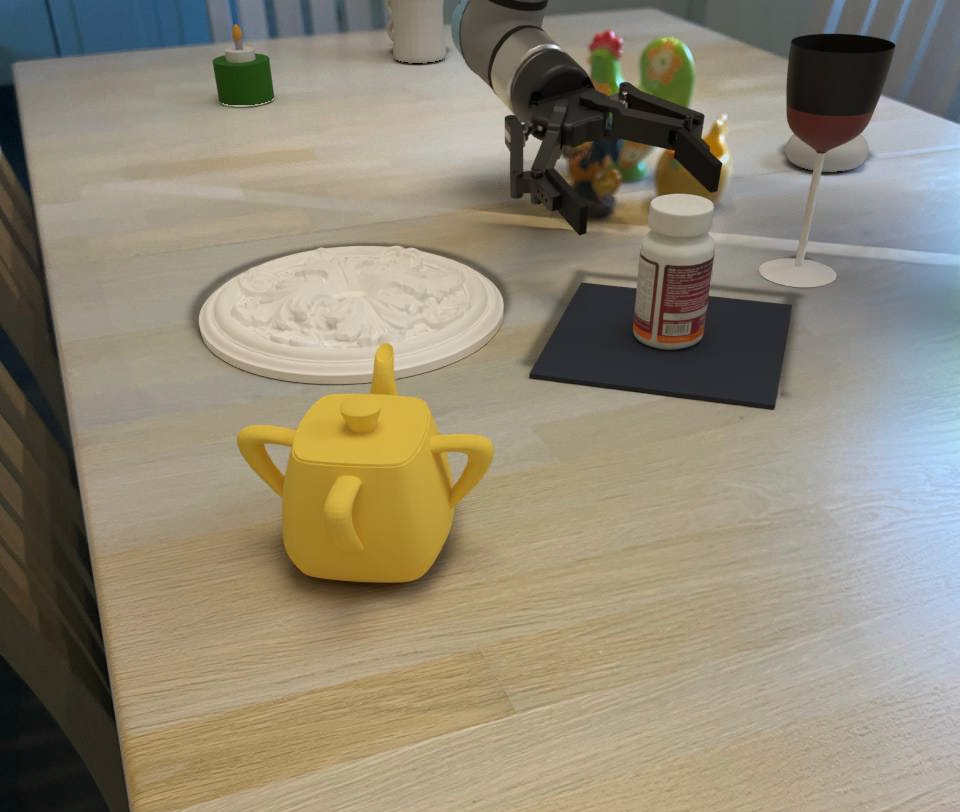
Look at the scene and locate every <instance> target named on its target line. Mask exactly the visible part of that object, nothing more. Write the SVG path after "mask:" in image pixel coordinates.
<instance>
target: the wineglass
mask: <svg viewBox="0 0 960 812" xmlns="http://www.w3.org/2000/svg"><path fill="white" fill-rule="evenodd" d="M895 50H896V44H895V42H892V41H891V40H888V39H886V38H885V39H884V38H881V37H877V36H872V35H871V36H870V35H864V34H863V35H862V34H853V33H852V34H851V33H815V34H813V33H812V34H804V35H800V36H797V37H794V38H792V39H791V41H790V45H789V53H788V60H787V72H786V88H785V89H786V90H785V94H786V95H785V96H786V102H785V103H786V106H785V107H786V108H785V109H786V121H787V124H788V127H789V129H790V131H791V132H792V133H793V134H795V135H796V136H797V137H798V138H799V139H800V140H801V141H803V142H804V143H806V144H807V145H809V146H810V147H811V148H813V149H814V150H815V151H816V152H817V154H816V159H815V165H814V170H813V171H812V175H811V181H810V184H809V185H810V186H809V189H808V190H809V191H808V196H807V200H806V206H805V211H804V216H803V222H802V226H801V231H800V235H799V241H798V246H797V247H798V248H797V252H796V257H795V258H788V257H786V258H784V257H783V258H776V259H771V260H769V261H765V262H763V263H762V264H761V265H760V266H759V267H758V272H759V275H760V276H761V277H763V278H764V279H765V280H768V281H770V282H772V283H775V284H778V285H781V286H786V287H794V288H816V287H822V286H823V287H824V286H826V285H830V284H831V283H833V282H834V281H836V278H837V273H836V272H835V271H836V270H834V269H833V268H831V267H830V266H828V265H827V264H824V263H822V262H818V261H814V260H810V259H805V256H806V250H807V246H808V241H809V236H810V231H811V227H812V222H813V221H812V220H813V216H814V211H815V206H816V201H817V198H818V197H817V196H818V192H819V185H820V181H821V176H822V173H823V172H822V167H823V162H824V157H825V153H826V152H827V151H829V150H831V149H834V148H836V147H838V146H840V145H843V144H845V143H847V142H849V141H851V140H852V139H854V138H856V137H857V136H858V135H862V133H864V131H865V129H867V127H868V125H869V124H870V122H871V120H872V117H873V115H874V113H875V110H876V108H877V105H878V103H879V101H880V98H881V95H882V94H883V90H884V87H885V85H886V81H887V78H888V75H889V72H890V69H891V65H892V61H893V58H894V54H895Z"/></svg>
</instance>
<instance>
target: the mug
mask: <svg viewBox="0 0 960 812" xmlns="http://www.w3.org/2000/svg"><path fill="white" fill-rule="evenodd" d="M385 8H386V11H387V13H388V16H389V17H390V20H389V21H388V23H387V24H386V32H387V35H388V37H389V39H390V40H391V41H392V55H393V58H394V59H395V60H396V61H397V60H398V61H397V62H400V61H401V62H400V63H403V62H408V63H407V64H412V63H423V64H428V63H427V62H433V63H436V62H435V61H438V62H440V61H439V60H441V61H443V60H444V59H445V58H446V56H447V44H446V38H445V36H446V35H445V27H444V0H385ZM442 59H443V60H442Z"/></svg>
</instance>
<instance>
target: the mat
mask: <svg viewBox="0 0 960 812" xmlns="http://www.w3.org/2000/svg"><path fill="white" fill-rule="evenodd" d="M636 291H637V287H629V286H620V285H619V286H618V285H611V284H602V283H601V284H599V283H592V282H583V281H581V282H580V283H579V286H578V287H577V288H576V291H575V292H574V294H573V296H572V298H571V299H570V301H569V303H568V304H567V307H566V309H565V310H564V312H563V313H562V314H561V317H560V319H559V321H558V322H557V324H556V326H555V328H554V329H553V331H552V333H551V335H550V336H549V338H548V340H547V341H546V344H545V345H544V346H543V348H542V351H541V352H540V354H539V356H538V358H537V360H536V361H535V363H534V365H533V366H532V368H531V369H530V372H529V373H528V378H529V379H535V380H536V379H537V380H545V381H553V382H559V383H560V382H561V383H567V384H568V383H569V384H575V385H583V386H591V387H597V388H599V387H600V388H606V389H614V390H622V391H628V392H629V391H630V392H636V393H637V392H638V393H644V394H652V395H660V396H661V395H662V396H666V397H667V396H668V397H677V398H684V399H691V400H698V401H699V400H700V401H707V402H714V403H721V404H729V405H738V406H746V407H754V408H761V409H768V410H775V408H776V402H777V398H778V397H777V396H778V391H779V385H780V378H781V373H782V367H783V360H784V356H785V355H784V354H785V349H786V343H787V337H788V331H789V327H790V320H791V314H792V307H793V304H789V303H781V302H770V301H769V302H768V301H762V300H761V301H760V300H751V299H743V298H733V297H724V296H713V295H709V296H708V304H707V312H706V319H705V326H704V333H703V337H702V338H701V340H700V341H699V342H698V343H696V344H695V345H693V346H690V347H687V348H683V349H675V350H664V349H658V348H654V347H650V346H648V345H645V344H643V343H642V342H640V341H639V340H638V339H637V338H636V337H635V335H634V332H633V324H634V312H635V301H636Z"/></svg>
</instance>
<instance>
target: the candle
mask: <svg viewBox="0 0 960 812" xmlns="http://www.w3.org/2000/svg"><path fill="white" fill-rule="evenodd" d="M231 36H232V39H233V40H234V46H231V47H227V48H225V49H224V55H220V56H217V57H215V58H214V59H212V66H213V72H214V79H215V85H216V89H217V97H218V102H219V101H220V102H221V103H224V104H228V105H255V104H261V103H265V102H268V101H271V100H272V99H273V98H275V92H274V84H273V76H272V69H271V61H270V57H269V55H266V54H263V53H256V51H255V48H254V47H252V46H244V45H243V31H242V29H241V27H240V25H238V24H237V23H236V24H234V25H233V26H232V30H231Z"/></svg>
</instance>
